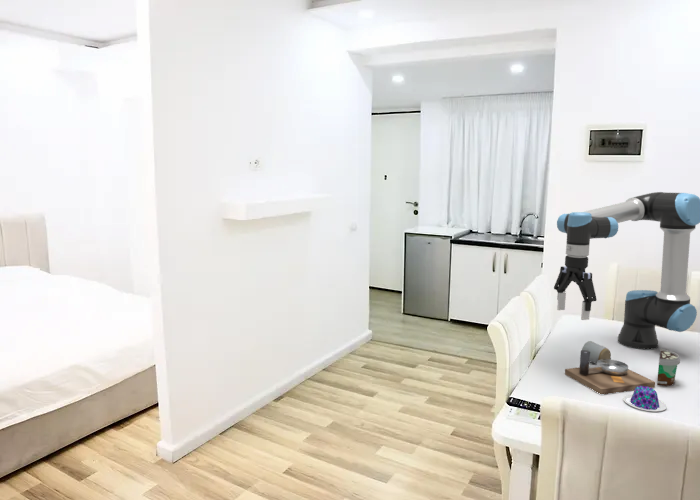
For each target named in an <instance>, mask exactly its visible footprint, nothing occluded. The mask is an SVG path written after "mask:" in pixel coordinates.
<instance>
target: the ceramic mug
mask: <svg viewBox="0 0 700 500" xmlns="http://www.w3.org/2000/svg"><path fill="white" fill-rule="evenodd" d="M581 350H588V351H590V361H589V363H593V364H594V365H597V361H598V360H601V359H611V360H612V357H611V356H612V355H611V350H610V349H609V348H607V347H606V346H604V345H601V344H599V343H596V342H594V341H592V340H590V341H589V340H588V341H587V342H585V343H584V344H583V346H582V348H581Z"/></svg>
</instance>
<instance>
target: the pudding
mask: <svg viewBox="0 0 700 500" xmlns="http://www.w3.org/2000/svg"><path fill="white" fill-rule="evenodd" d="M627 398H631V399H630V401H629V402H631V403H632V404H630V403H628V402H627V401H626V399H627ZM622 399H623V402H625V403H626V404H627V405H628V406H630V407H633V408H636V409H639V410H642V411H647V412H663V411H665V410H666V409H667V407H668V406H667V404H666V403H665V402H664V401H662V400H660V399H659V397H658V392H657V391H656V390H655V388H650V387H647V386H638V387H636V388H635V390H633V392H632V394H631V393H630V394H626V395H625V396H623V398H622Z"/></svg>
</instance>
